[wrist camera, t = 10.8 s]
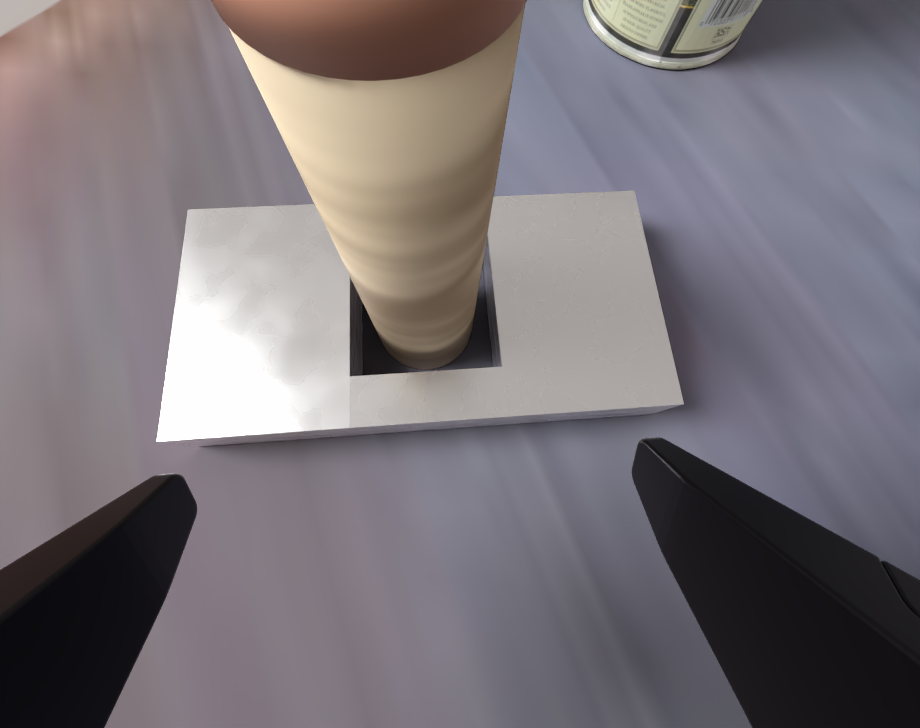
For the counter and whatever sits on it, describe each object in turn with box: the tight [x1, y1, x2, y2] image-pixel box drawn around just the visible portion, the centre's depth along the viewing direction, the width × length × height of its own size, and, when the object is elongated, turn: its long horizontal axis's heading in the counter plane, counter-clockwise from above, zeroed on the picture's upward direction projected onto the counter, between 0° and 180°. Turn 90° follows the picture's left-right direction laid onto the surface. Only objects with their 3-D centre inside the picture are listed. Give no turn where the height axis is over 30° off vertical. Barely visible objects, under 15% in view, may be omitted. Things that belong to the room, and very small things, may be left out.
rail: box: [157, 191, 684, 447], centre depth 18 cm, size 10×20×2 cm, turn 94°
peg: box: [211, 0, 527, 370], centre depth 12 cm, size 4×4×15 cm
